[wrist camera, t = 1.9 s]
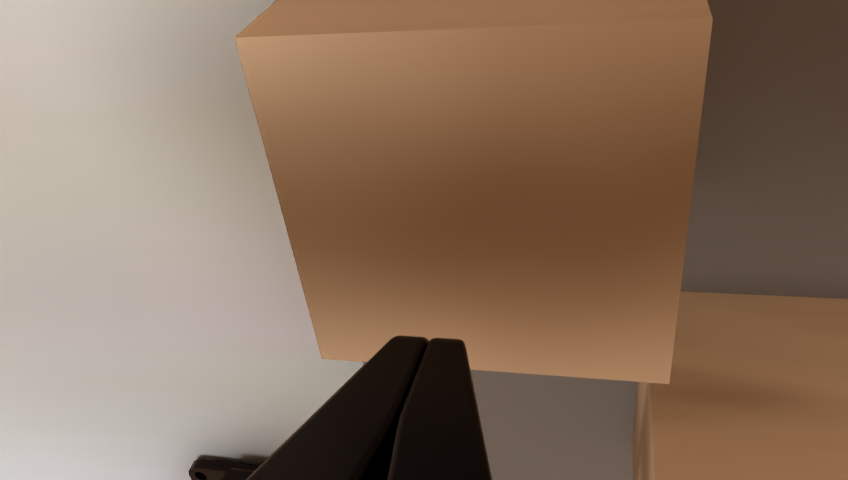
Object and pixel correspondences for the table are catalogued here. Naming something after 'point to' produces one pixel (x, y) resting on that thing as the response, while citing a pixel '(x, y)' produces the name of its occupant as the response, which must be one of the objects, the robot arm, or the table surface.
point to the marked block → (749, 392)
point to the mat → (715, 224)
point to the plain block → (487, 173)
